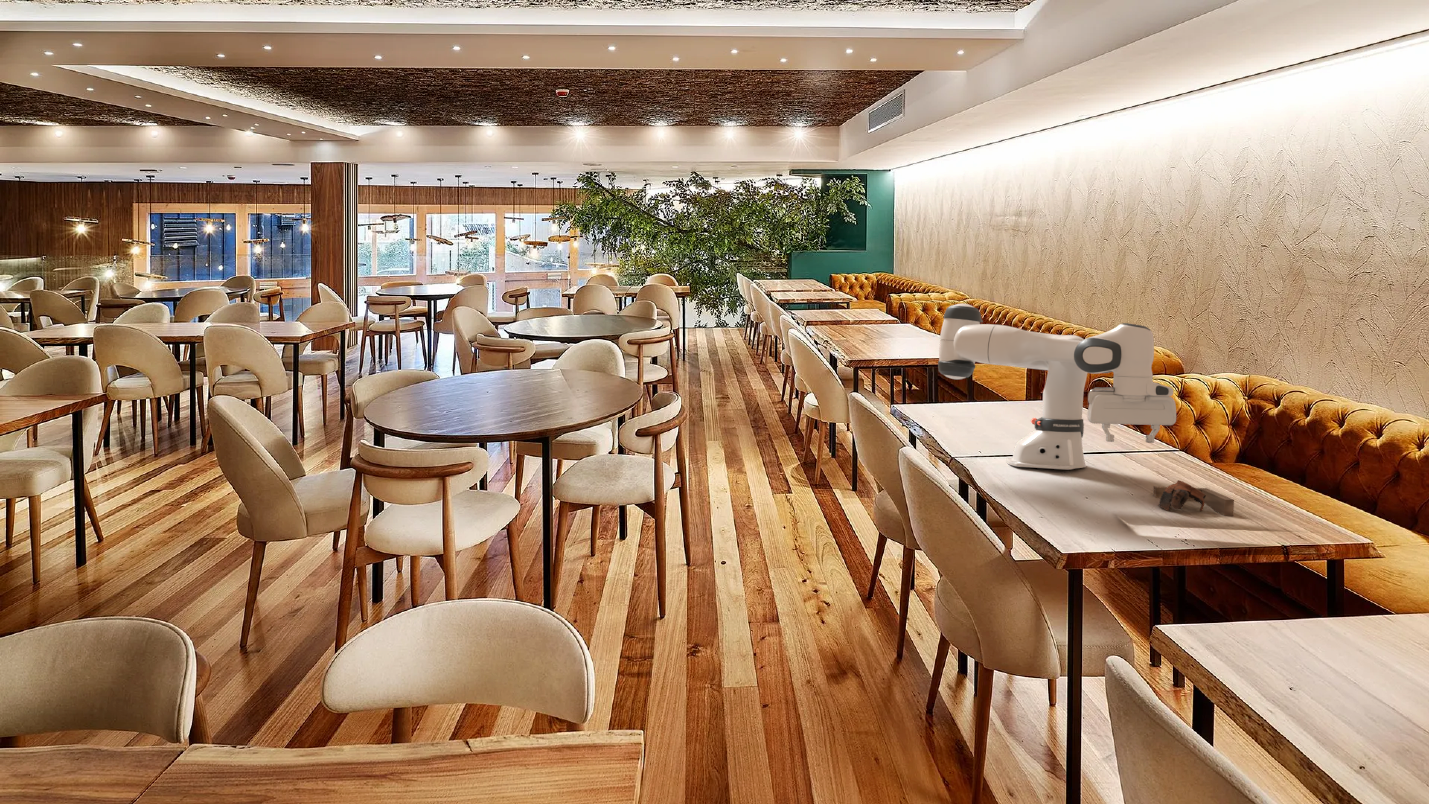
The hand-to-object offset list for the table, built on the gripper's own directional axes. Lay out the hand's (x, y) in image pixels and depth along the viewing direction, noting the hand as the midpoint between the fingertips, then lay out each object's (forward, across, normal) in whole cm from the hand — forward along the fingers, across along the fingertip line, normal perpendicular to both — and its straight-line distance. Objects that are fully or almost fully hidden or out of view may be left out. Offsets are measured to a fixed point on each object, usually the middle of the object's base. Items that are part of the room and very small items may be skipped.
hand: (1129, 442), depth 206 cm
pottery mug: (+18, +10, -2) cm, 21 cm away
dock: (+17, +22, +3) cm, 28 cm away
